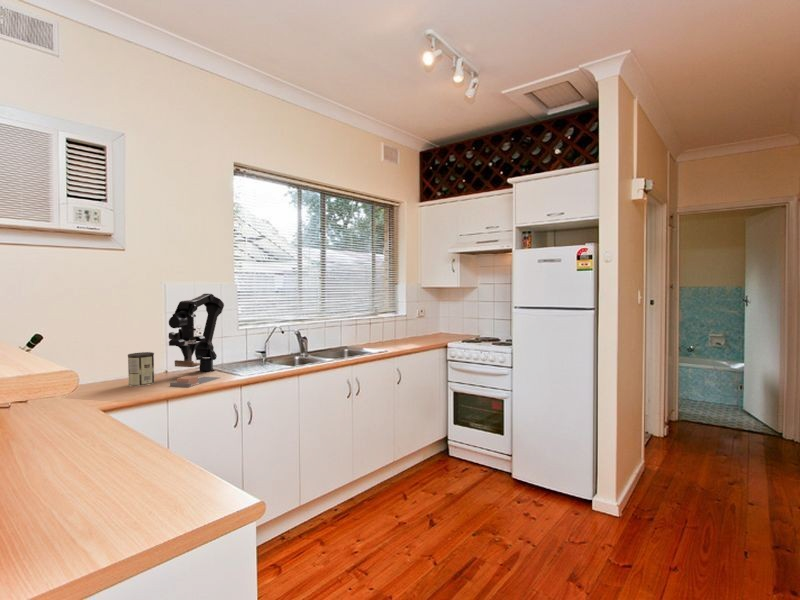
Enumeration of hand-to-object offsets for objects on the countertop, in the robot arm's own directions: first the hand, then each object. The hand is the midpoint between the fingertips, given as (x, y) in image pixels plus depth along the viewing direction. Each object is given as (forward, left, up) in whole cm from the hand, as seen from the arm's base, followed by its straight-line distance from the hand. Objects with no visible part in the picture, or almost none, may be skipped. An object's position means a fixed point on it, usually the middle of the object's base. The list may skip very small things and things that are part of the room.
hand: (187, 358), depth 220 cm
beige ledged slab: (0, 0, -4) cm, 4 cm away
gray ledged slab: (+9, +13, -9) cm, 18 cm away
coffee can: (+20, -8, -10) cm, 24 cm away
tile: (+16, +13, -9) cm, 22 cm away
